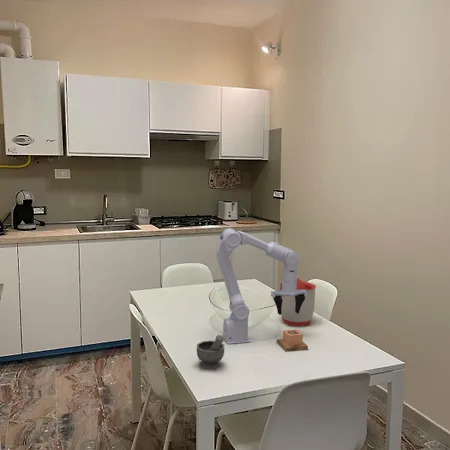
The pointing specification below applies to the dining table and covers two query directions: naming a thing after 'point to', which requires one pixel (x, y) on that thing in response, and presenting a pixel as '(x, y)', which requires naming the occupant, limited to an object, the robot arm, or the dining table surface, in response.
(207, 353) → the mortar and pestle
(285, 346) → the post stand
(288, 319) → the citrus juicer
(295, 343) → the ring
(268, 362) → the dining table surface
